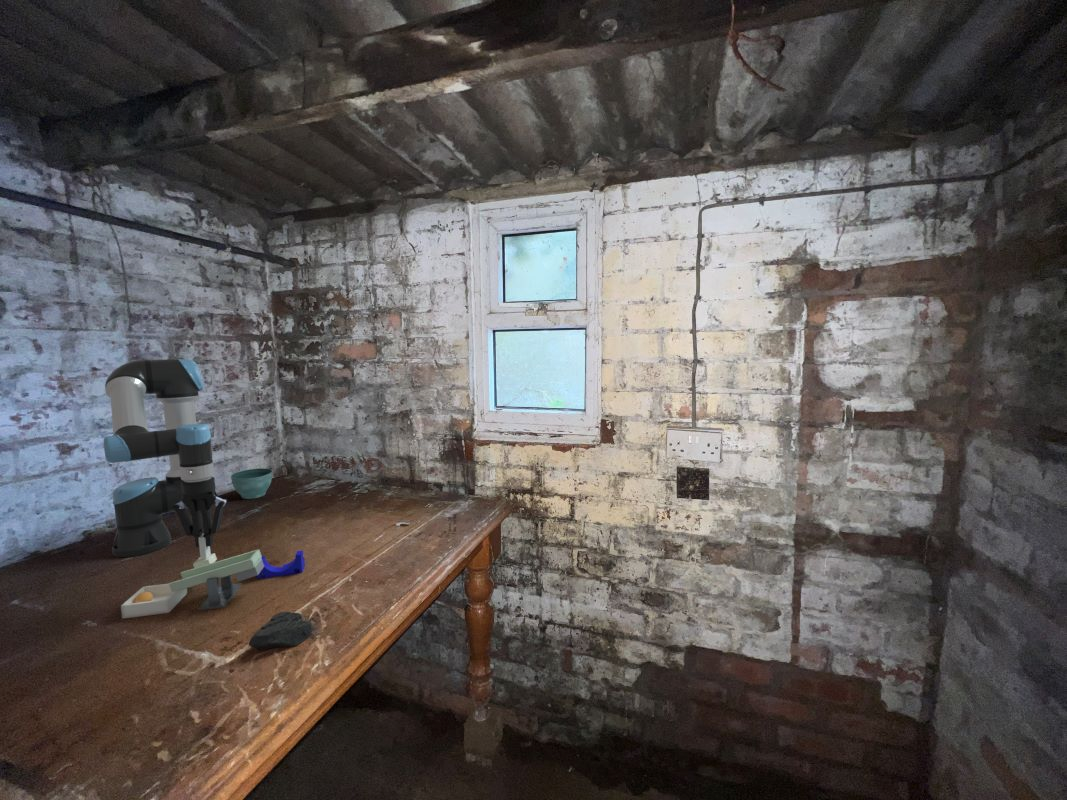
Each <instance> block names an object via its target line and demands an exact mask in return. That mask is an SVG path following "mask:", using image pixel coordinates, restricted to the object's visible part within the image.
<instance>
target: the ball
mask: <svg viewBox="0 0 1067 800" xmlns="http://www.w3.org/2000/svg"><path fill="white" fill-rule="evenodd" d="M152 599H153V595H152V594H151V593H150V592H143V593H140V594H139V595H138V596H137V597H136V599H135V603H140V602H148V601H152Z"/></svg>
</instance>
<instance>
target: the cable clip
mask: <svg viewBox="0 0 1067 800" xmlns="http://www.w3.org/2000/svg"><path fill="white" fill-rule="evenodd" d="M294 557H295V558H294V559H293V560H291V561H290V562H289V563H286V564H285V563H284V564H283V565H282V566H274V565H271V564H270V563H269V562H268V561H267V560H266V557H265V555H262V557H261V558H262V561H263V564H264V567H263V569H262V570H261V572H260V573H259V574H258V575H257V577H256V578H257V580H262V578H263V579H269V578H277V577H283V576H284V577H285V576H291V575H296V574H302V573H303V571H304V569H305V567H306V561H305V560H306V559H305V557H304V551H303V550H298V551H296V553H295V556H294Z"/></svg>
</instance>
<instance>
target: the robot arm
mask: <svg viewBox="0 0 1067 800" xmlns="http://www.w3.org/2000/svg"><path fill="white" fill-rule="evenodd" d="M109 374H110V375H108V376H107V378H106V380H105V384H104V387H105V388H104V389H105V390H104V391H105V394H106V395H107V397H108V398H109V399H110V408H111V409H110V410H111V420H112V421H111V423H112V434H111V435H107V436H105V437H104V438H103V448H104V449H103V450H104V451H103V452H104V456H105V460H106V462H108V463H122V462H123V463H124V462H125V463H128V462H131V461H140V460H147V459H152V458H159V457H168V459H169V467H170V469H169V471H167V472H166V473H165V479H164V480H163V479H162V480H159V479H158V477H156V476H154V477H152V476H151V477H144V478H139V479H135V480H131V481H129V482H126V483H123V484H120V485H119V486H117V487H116V488H115V489H114V490H113V492H112V504H113V508H114V516H115V525H116V533H115V537H114V540H113V544H112V546H111V550H112V556H114V557H117V558H129V557H136V556H141V555H145V554H150V553H152V552H155V551H157V550H160V549H163V548H165V547H166V546H168V545H170V543H171V542H172V536H171V532H170V531H169V530H168V528H167V526H166V525H165V522H164V521H163V514H168V513H173V512H176V513H177V515H178V518H179V521H180V523H181V525H182V527H183V531H184V533H185V535H186V536H187V537H194V542H195V543H194V544H195V547H196V548H199V549H198V550H199V558H201V559H206V558H207V557H209V556H210V555H211V554H212V553H211V546H212V545H214V544H213V543H214V540H213V535H214V534H216V533H217V532H218V531H219V530H220V529H221V525H222V520H223V513H224V512H223V511H224V509H225V505H226V504H227V503H228V499H227V498H224V499H223V498H221V497H219V495H218V493H217V492H216V482H215V481H216V480H215V477H214V475H215V470H214V460H213V452H212V451H213V450H212V440H211V438H212V434H211V431H210V426H209V425H208V424H206V423H197V418H196V409H195V408H196V407H195V400H196V399H197V398H198V397H199V395H200V394H199V392H202V391H203V390H204V385H203V380H202V375H201V373H200V369H199V366H198V365H197V363H196V362H195V361H194V360H193V359H186V358H185V359H183V358H176V359H175V358H174V359H137V360H132V361H129V362H126V363H124V364H122V365H120V366H119V367H117V368H116V369H115V370H113V371H112V372H111V373H109ZM151 394H153V395H156V397H155V398H156V400H158V401H159V402H160V403H162V406H163V415H164V425H165V429H162V430H153V431H149V425H148V419H147V418H148V417H147V413H146V412H147V411H146V406H145V399H144V396H145V395H151ZM214 503H215V509H214V515H213V519H212V507H213V505H214ZM188 509H189V512H190V514H189V512H188ZM190 515H191V516H190Z"/></svg>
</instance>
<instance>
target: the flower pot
mask: <svg viewBox="0 0 1067 800" xmlns="http://www.w3.org/2000/svg"><path fill="white" fill-rule="evenodd" d="M272 478H273V470H272V469H270V468H263V467H262V468H252V469H251V468H249V469H244V470H241V471H238V472H235V473H233V474H231V475H230V479H231V483H232V487H233V488H234V490H235V491H236V493H238V494H239V495H240V497H241V498H242V499H245V500H250V499H258V498H262V497H264V496H265V495H266V493H267V490H268V489H269V488H270V485H271V484H272V480H273V479H272Z"/></svg>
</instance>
